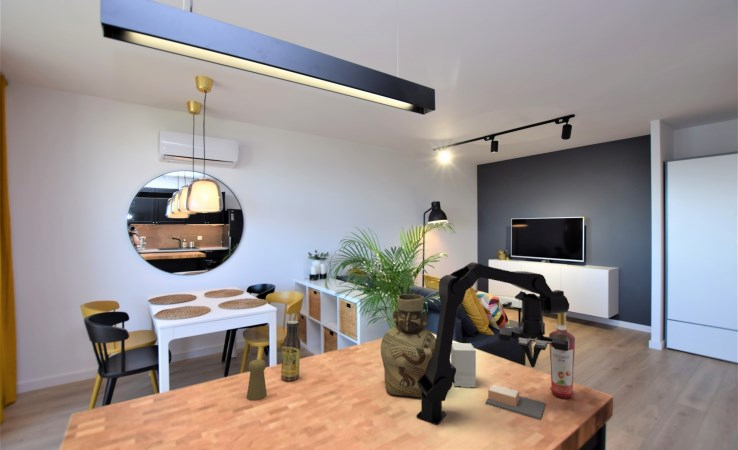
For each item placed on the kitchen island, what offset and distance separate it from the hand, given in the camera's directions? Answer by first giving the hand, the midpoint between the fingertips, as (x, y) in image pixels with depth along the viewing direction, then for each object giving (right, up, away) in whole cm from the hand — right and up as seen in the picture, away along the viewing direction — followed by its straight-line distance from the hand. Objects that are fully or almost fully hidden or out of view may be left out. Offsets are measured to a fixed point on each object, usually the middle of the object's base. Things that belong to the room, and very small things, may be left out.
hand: (533, 366), depth 101 cm
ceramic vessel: (-36, -12, +13) cm, 40 cm away
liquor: (+13, -12, +8) cm, 19 cm away
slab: (-4, -10, +1) cm, 11 cm away
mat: (-5, -12, +2) cm, 13 cm away
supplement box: (-17, -12, +16) cm, 26 cm away
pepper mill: (-84, -12, +6) cm, 85 cm away
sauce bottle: (-77, -12, +19) cm, 80 cm away
